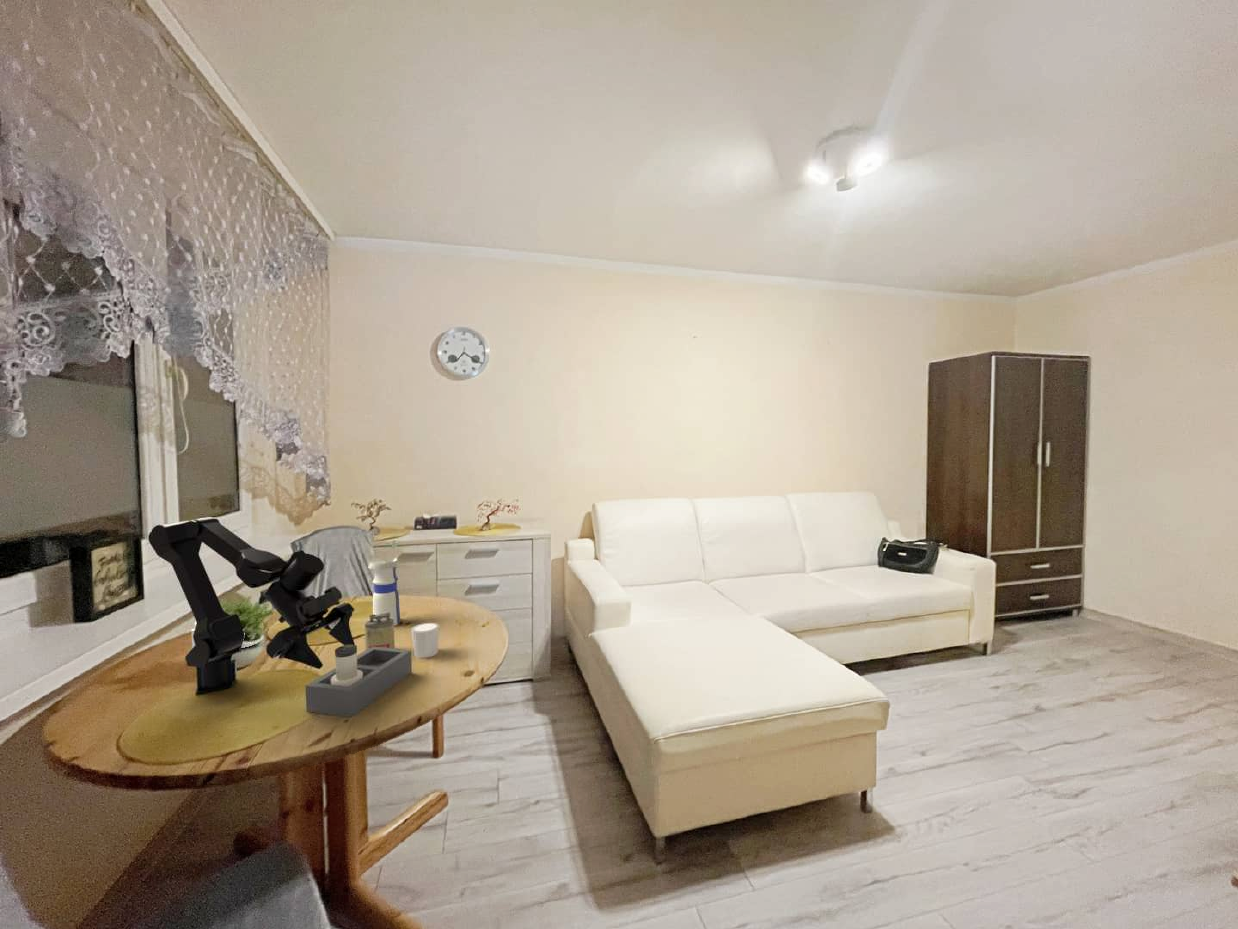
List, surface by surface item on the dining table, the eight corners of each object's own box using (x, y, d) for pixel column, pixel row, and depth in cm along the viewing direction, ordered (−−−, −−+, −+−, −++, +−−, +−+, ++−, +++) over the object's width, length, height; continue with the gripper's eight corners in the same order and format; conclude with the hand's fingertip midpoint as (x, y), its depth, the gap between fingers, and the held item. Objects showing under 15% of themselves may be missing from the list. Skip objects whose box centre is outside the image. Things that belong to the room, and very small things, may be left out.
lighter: (364, 656, 129) (363, 618, 128) (365, 650, 133) (364, 613, 132) (394, 651, 132) (393, 614, 131) (395, 646, 135) (394, 610, 135)
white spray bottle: (376, 619, 156) (373, 539, 154) (405, 617, 157) (402, 538, 155) (366, 629, 147) (363, 545, 146) (396, 627, 148) (393, 544, 147)
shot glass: (433, 645, 135) (432, 620, 135) (444, 653, 131) (444, 627, 130) (407, 653, 131) (406, 627, 130) (418, 661, 126) (417, 634, 125)
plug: (331, 700, 103) (330, 657, 102) (330, 687, 108) (329, 646, 107) (364, 692, 106) (363, 650, 105) (361, 680, 111) (360, 640, 110)
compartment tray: (350, 717, 101) (349, 691, 100) (306, 711, 103) (305, 685, 103) (411, 672, 120) (411, 650, 119) (373, 668, 122) (372, 646, 122)
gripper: (274, 592, 98) (325, 652, 96) (345, 568, 116) (389, 617, 114) (244, 629, 100) (293, 688, 98) (318, 599, 118) (361, 648, 117)
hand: (338, 657), depth 107 cm, fingers open, 9 cm apart
